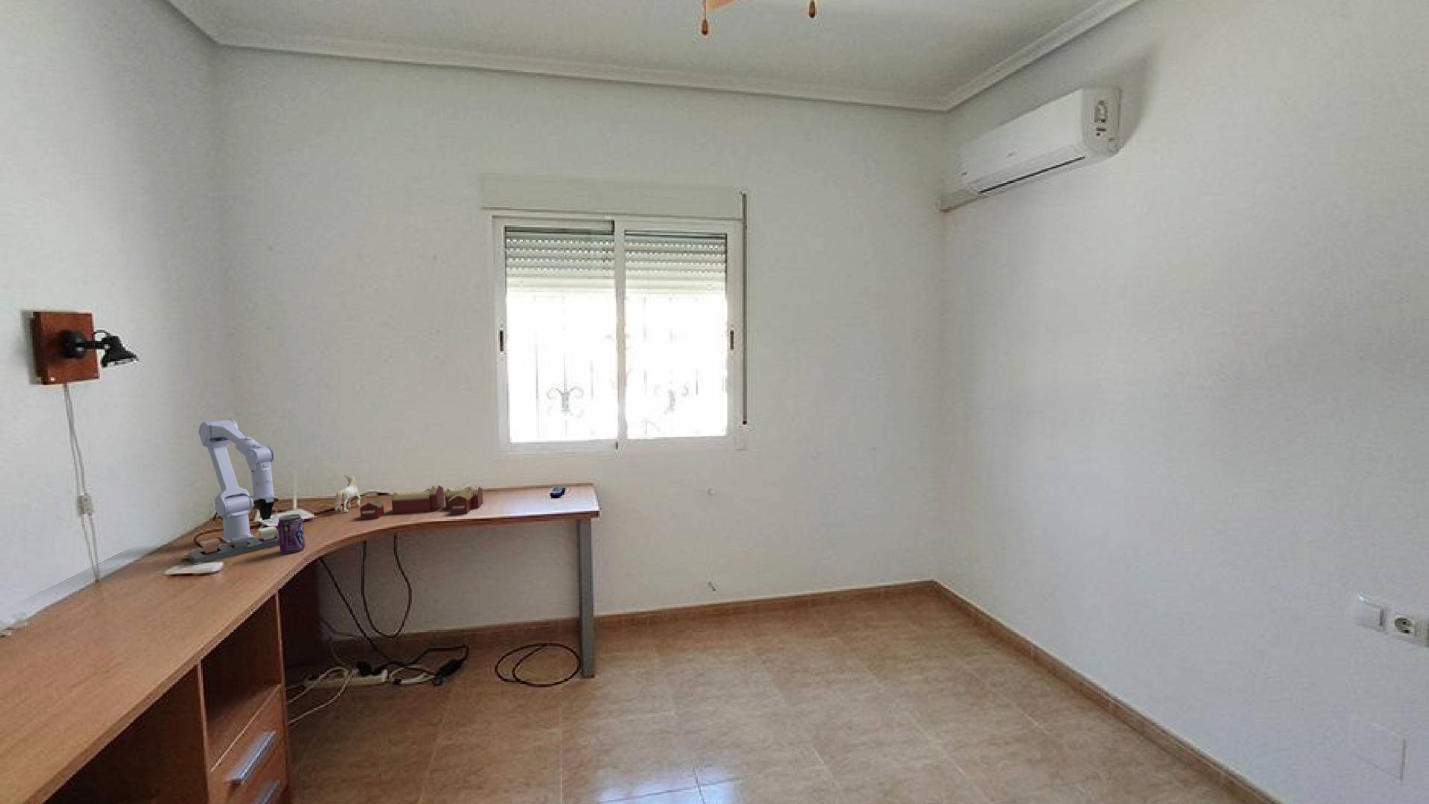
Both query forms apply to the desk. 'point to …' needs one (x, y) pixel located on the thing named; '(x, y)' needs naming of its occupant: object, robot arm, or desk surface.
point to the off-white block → (267, 532)
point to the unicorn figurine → (347, 494)
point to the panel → (233, 549)
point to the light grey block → (239, 540)
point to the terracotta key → (210, 545)
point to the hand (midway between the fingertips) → (266, 519)
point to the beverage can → (291, 533)
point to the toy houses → (427, 502)
